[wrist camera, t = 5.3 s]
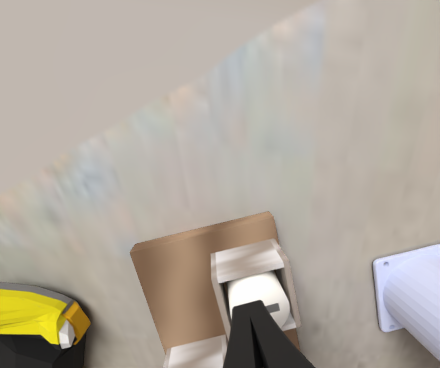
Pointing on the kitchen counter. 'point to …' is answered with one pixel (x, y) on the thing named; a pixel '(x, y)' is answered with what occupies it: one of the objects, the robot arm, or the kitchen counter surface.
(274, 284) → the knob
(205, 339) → the knob board
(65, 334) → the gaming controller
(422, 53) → the kitchen counter surface
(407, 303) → the robot arm
